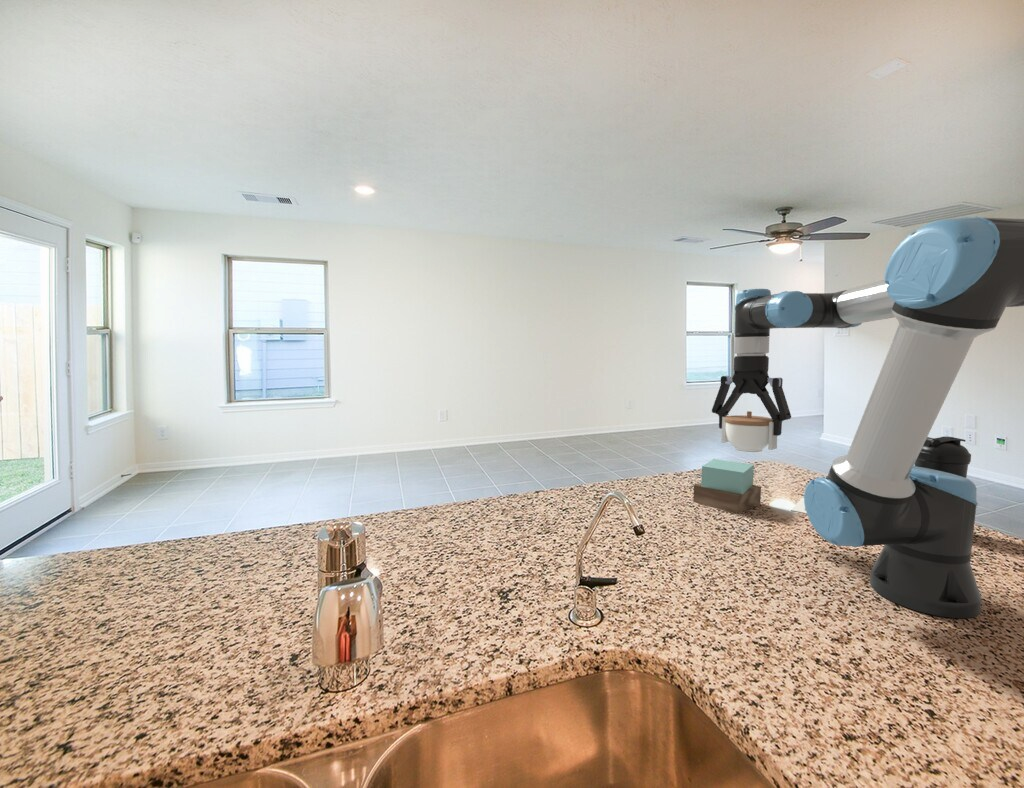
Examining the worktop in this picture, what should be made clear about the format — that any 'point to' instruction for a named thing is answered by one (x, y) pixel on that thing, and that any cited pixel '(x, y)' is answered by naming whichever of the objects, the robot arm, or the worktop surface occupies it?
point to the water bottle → (944, 455)
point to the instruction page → (800, 507)
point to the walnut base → (727, 498)
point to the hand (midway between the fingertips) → (748, 445)
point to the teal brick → (727, 476)
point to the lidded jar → (747, 432)
